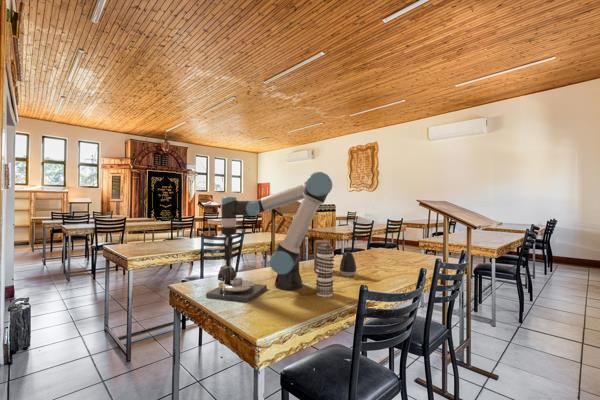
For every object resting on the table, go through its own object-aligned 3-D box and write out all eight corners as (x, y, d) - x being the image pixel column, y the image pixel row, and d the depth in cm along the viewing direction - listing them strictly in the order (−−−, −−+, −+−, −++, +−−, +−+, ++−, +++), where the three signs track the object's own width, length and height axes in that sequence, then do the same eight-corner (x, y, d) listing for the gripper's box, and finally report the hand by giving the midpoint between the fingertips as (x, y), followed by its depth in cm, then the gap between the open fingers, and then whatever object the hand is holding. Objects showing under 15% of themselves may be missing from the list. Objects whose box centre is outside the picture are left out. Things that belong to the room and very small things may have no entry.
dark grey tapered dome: (344, 273, 192) (344, 249, 192) (359, 275, 186) (359, 251, 186) (336, 276, 184) (336, 251, 184) (351, 278, 177) (352, 253, 177)
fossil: (232, 280, 169) (224, 265, 170) (219, 287, 171) (211, 271, 172) (239, 275, 180) (232, 260, 181) (227, 281, 182) (220, 266, 183)
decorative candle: (329, 298, 142) (329, 246, 142) (312, 295, 146) (312, 244, 146) (336, 293, 150) (337, 243, 150) (320, 290, 154) (320, 242, 154)
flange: (259, 284, 154) (259, 266, 154) (244, 293, 139) (244, 274, 139) (227, 281, 160) (228, 264, 160) (210, 289, 145) (210, 271, 145)
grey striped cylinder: (313, 272, 193) (314, 241, 193) (315, 269, 202) (315, 239, 202) (329, 273, 191) (329, 242, 191) (330, 269, 201) (330, 240, 201)
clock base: (266, 288, 156) (266, 275, 156) (247, 302, 135) (247, 287, 135) (229, 284, 163) (230, 272, 163) (206, 297, 142) (206, 282, 142)
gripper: (223, 225, 160) (223, 268, 160) (218, 227, 147) (218, 275, 147) (237, 225, 161) (237, 268, 161) (234, 227, 148) (233, 274, 148)
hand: (228, 271), depth 154 cm, fingers closed
